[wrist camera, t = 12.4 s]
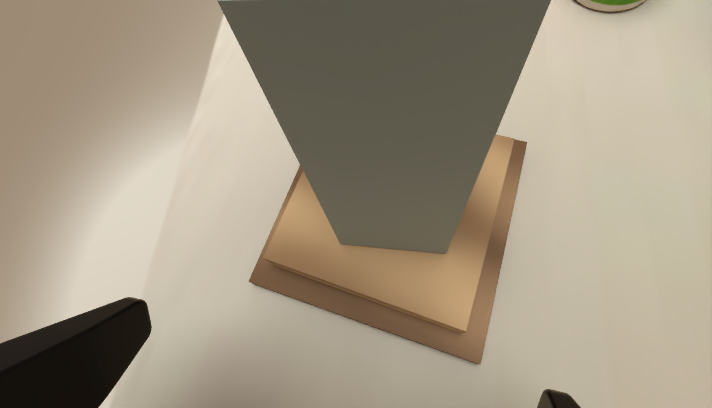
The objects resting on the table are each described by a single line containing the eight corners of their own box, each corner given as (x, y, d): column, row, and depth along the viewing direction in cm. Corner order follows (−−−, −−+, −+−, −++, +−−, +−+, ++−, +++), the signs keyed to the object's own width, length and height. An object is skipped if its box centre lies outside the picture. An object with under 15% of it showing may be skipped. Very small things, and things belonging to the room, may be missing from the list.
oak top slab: (461, 333, 17) (465, 331, 16) (272, 264, 19) (262, 257, 18) (507, 153, 20) (514, 139, 19) (340, 113, 23) (336, 98, 21)
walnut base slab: (474, 363, 18) (480, 364, 16) (259, 286, 21) (248, 281, 19) (519, 155, 22) (527, 142, 20) (333, 114, 25) (328, 100, 23)
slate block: (446, 253, 17) (552, -5, 5) (340, 244, 18) (217, 0, 6) (449, 159, 19) (531, -186, 7) (353, 155, 20) (281, -165, 8)
